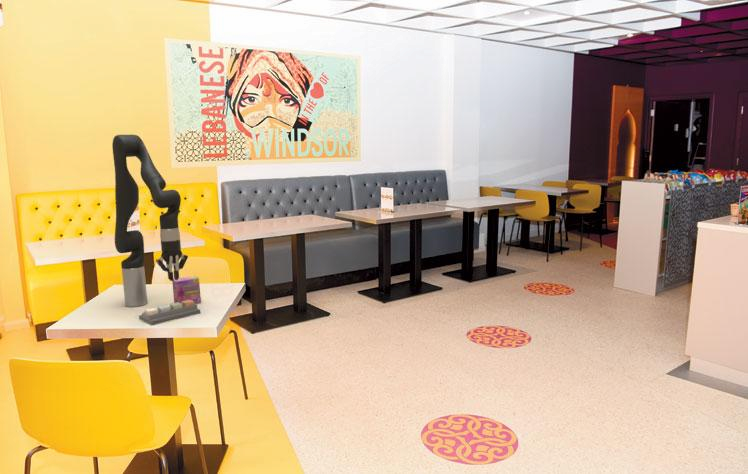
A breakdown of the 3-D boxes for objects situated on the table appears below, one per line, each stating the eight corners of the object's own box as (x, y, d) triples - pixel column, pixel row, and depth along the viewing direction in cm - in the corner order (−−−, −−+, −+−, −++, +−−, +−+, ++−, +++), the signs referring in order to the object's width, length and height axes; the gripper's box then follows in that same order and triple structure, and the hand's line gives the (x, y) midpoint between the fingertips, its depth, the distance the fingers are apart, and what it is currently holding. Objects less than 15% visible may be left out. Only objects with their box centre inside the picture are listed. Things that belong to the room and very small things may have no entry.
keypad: (139, 318, 230) (138, 311, 229) (187, 307, 244) (186, 300, 244) (151, 325, 221) (150, 317, 221) (200, 313, 236) (199, 305, 235)
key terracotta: (181, 305, 237) (181, 301, 237) (189, 303, 240) (189, 299, 240) (185, 307, 235) (185, 303, 234) (194, 305, 237) (193, 301, 237)
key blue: (157, 311, 230) (157, 306, 230) (166, 309, 233) (166, 304, 233) (161, 312, 228) (161, 308, 227) (170, 310, 230) (170, 306, 230)
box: (178, 307, 245) (175, 281, 243) (174, 304, 250) (171, 278, 248) (201, 303, 251) (199, 277, 249) (197, 300, 256) (195, 275, 254)
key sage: (169, 308, 234) (169, 304, 234) (178, 306, 237) (178, 302, 236) (173, 310, 231) (173, 305, 231) (182, 308, 234) (182, 303, 234)
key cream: (145, 313, 227) (144, 309, 226) (154, 311, 229) (153, 307, 229) (149, 315, 224) (148, 311, 224) (158, 313, 227) (157, 309, 226)
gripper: (181, 235, 236) (185, 275, 239) (150, 240, 227) (153, 281, 230) (190, 237, 231) (193, 278, 234) (158, 242, 222) (161, 284, 224)
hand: (173, 279), depth 232 cm, fingers closed
